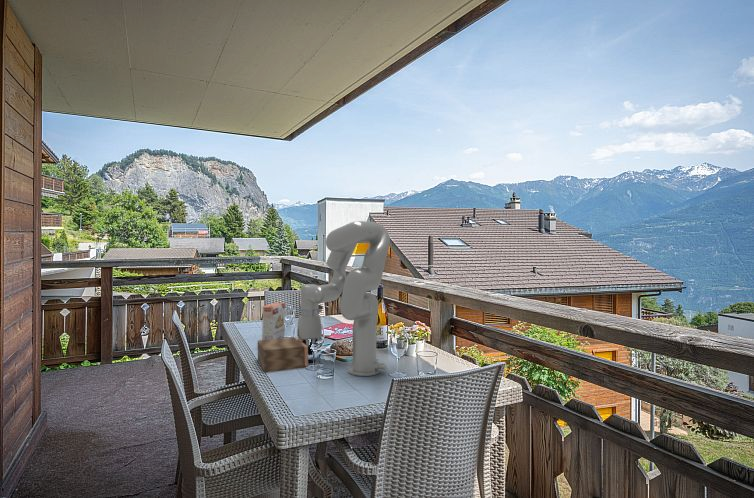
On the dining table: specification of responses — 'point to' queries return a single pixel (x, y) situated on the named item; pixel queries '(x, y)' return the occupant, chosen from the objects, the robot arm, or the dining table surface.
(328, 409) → the dining table surface
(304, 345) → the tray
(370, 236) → the robot arm
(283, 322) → the cracker box
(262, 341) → the brown box
